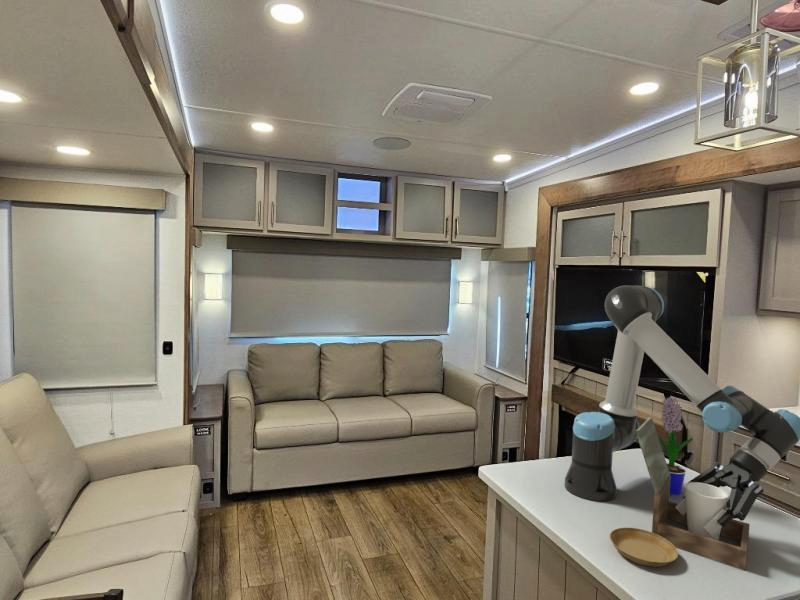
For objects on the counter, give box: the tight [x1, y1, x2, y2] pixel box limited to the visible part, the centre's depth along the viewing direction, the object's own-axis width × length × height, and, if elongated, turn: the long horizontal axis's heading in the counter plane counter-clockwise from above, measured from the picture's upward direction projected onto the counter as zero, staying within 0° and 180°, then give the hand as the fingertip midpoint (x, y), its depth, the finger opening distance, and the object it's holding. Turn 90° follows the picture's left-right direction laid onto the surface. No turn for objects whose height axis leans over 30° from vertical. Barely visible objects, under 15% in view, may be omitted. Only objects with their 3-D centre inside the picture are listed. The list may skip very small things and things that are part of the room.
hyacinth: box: [658, 396, 694, 496], centre depth 150 cm, size 9×10×30 cm
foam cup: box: [683, 481, 729, 541], centre depth 122 cm, size 10×9×13 cm
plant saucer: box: [609, 526, 679, 568], centre depth 115 cm, size 15×15×3 cm
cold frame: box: [636, 416, 750, 571], centre depth 122 cm, size 25×16×27 cm, turn 52°
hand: (692, 521), depth 121 cm, fingers closed on foam cup, 9 cm apart
